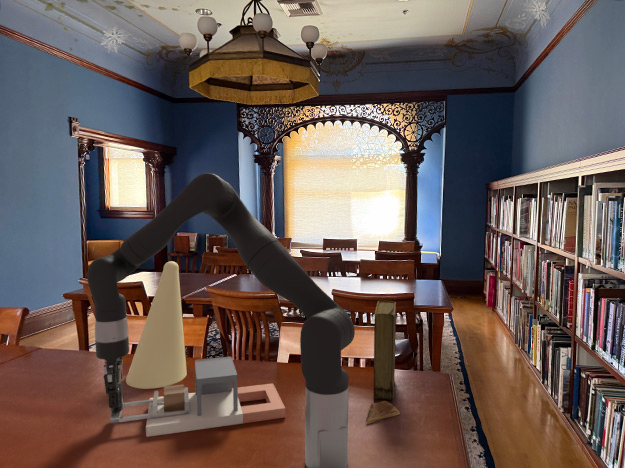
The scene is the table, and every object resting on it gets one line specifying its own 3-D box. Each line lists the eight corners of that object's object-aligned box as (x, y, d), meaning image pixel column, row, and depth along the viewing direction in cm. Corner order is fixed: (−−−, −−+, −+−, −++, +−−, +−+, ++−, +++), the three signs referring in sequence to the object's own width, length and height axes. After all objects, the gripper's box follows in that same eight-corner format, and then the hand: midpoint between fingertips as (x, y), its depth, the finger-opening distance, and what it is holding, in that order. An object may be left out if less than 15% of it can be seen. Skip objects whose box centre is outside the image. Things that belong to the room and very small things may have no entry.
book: (376, 378, 143) (378, 300, 141) (394, 379, 142) (395, 301, 140) (373, 401, 127) (374, 313, 125) (393, 403, 126) (394, 314, 124)
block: (184, 411, 116) (184, 392, 115) (164, 413, 114) (163, 394, 114) (184, 402, 120) (184, 384, 120) (164, 405, 119) (164, 386, 118)
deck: (285, 417, 118) (285, 408, 117) (146, 436, 108) (145, 426, 108) (273, 391, 133) (272, 383, 133) (150, 406, 123) (149, 397, 123)
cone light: (171, 390, 134) (168, 273, 131) (113, 386, 136) (109, 271, 133) (202, 360, 158) (200, 260, 155) (152, 357, 160) (149, 259, 157)
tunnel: (237, 410, 116) (237, 374, 115) (197, 416, 113) (196, 379, 112) (231, 388, 129) (231, 356, 128) (195, 393, 126) (194, 360, 125)
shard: (365, 426, 114) (365, 419, 114) (350, 413, 121) (350, 406, 121) (400, 416, 119) (400, 410, 119) (383, 404, 126) (383, 398, 126)
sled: (188, 413, 114) (188, 381, 113) (108, 423, 109) (107, 390, 108) (188, 397, 122) (187, 368, 122) (113, 407, 117) (112, 376, 116)
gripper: (125, 343, 106) (128, 414, 107) (131, 327, 119) (133, 390, 121) (89, 347, 104) (93, 419, 105) (100, 329, 117) (103, 393, 119)
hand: (115, 403), depth 113 cm, fingers open, 3 cm apart
